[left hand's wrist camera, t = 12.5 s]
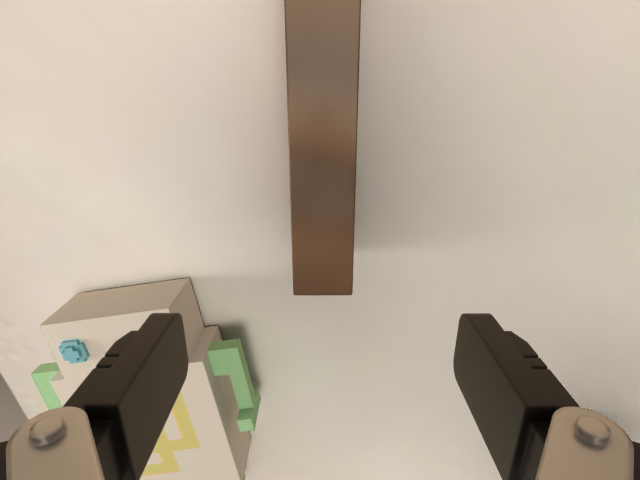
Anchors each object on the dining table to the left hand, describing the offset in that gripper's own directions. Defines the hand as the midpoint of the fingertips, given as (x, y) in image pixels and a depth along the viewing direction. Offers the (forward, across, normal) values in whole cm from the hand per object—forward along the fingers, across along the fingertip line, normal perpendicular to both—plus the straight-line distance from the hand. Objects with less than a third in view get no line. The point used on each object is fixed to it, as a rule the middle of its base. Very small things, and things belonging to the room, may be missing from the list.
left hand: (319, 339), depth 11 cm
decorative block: (+25, +16, +24) cm, 38 cm away
